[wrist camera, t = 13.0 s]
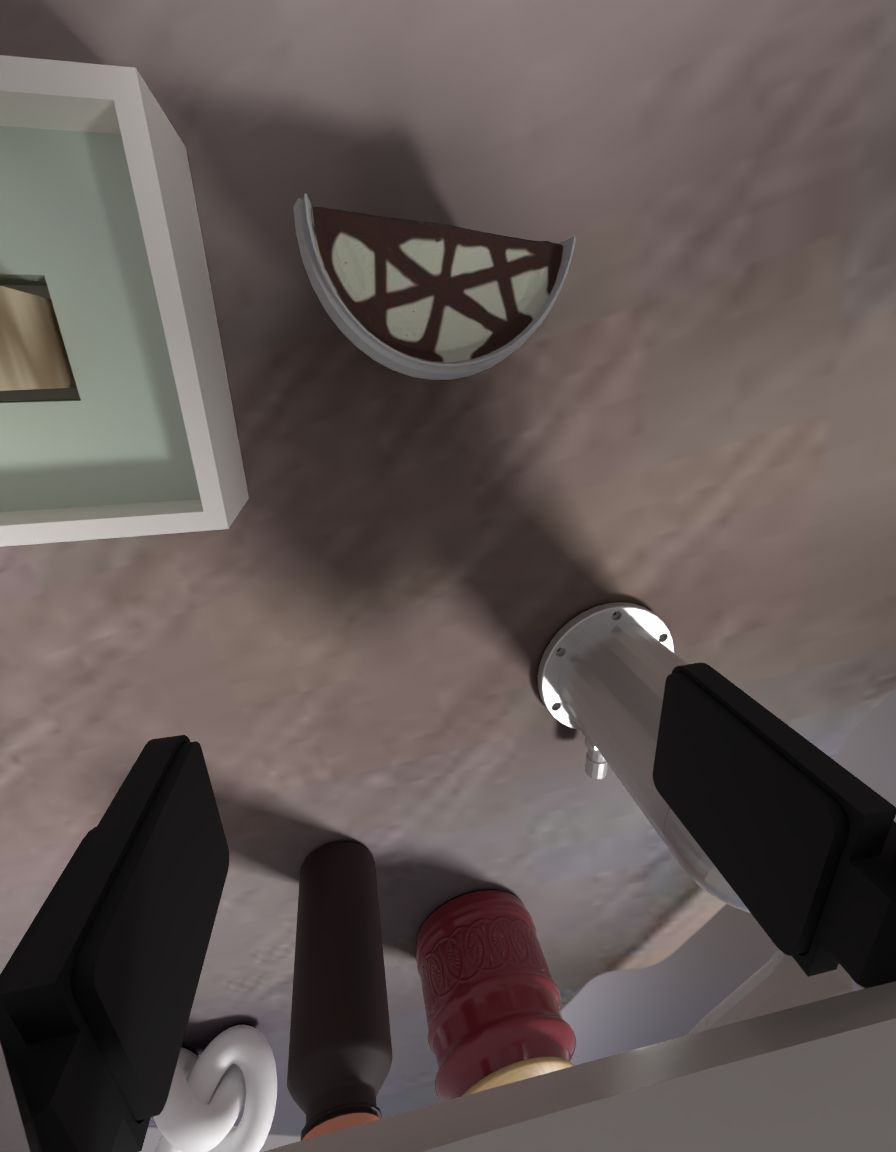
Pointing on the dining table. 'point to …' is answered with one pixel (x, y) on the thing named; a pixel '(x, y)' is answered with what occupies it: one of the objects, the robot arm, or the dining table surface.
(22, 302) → the maple peg
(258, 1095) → the white knot sculpture
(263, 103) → the dining table surface
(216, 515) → the open box
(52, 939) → the robot arm
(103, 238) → the bore plate
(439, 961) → the canister
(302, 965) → the bottle
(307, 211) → the food container
